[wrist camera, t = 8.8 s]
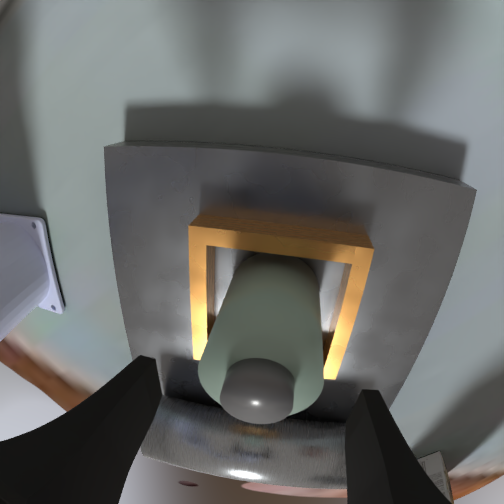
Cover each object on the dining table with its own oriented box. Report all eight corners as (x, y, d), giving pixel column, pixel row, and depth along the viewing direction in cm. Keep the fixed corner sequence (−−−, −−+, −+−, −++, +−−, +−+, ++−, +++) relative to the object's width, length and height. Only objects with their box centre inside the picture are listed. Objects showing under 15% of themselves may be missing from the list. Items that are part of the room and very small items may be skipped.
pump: (234, 324, 17) (200, 431, 11) (227, 250, 15) (179, 349, 9) (316, 328, 16) (316, 440, 10) (321, 252, 15) (332, 359, 8)
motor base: (157, 405, 25) (129, 467, 19) (124, 141, 16) (34, 169, 9) (358, 435, 23) (361, 504, 17) (459, 180, 14) (536, 229, 7)
